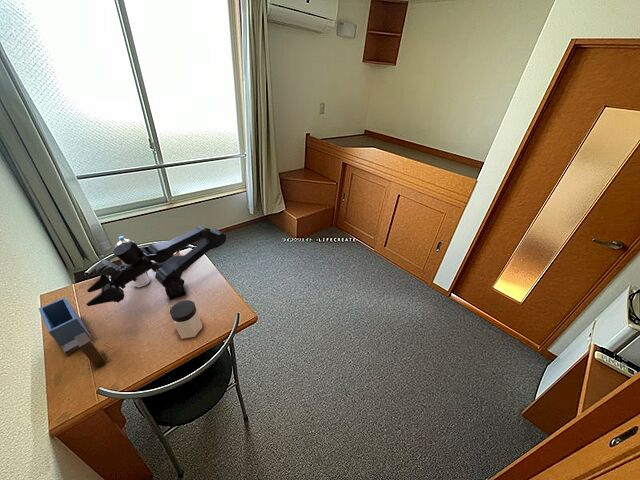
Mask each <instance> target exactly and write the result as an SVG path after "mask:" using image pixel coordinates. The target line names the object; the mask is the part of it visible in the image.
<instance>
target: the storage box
mask: <svg viewBox="0 0 640 480" xmlns="http://www.w3.org/2000/svg"><path fill="white" fill-rule="evenodd" d="M38 311H39V315H40V316H41V318H42V321H43V323H44V326H45V328H46V330H47V332H48V334H49V335H50V336H51V337H52V338H53V339H54V340H55V342H56V343H57V344H58V345H59V346H60V347H61V348H62V346H63V345H65V344H67V343H69V342H71V341H73V340H75V337H76V336H78V335H80V334H82V333H84V332H85V333H86V334H87V335H88V337H89V338H90V339H91V341H92V342H93V341H94V340H93V338H92V335H91V334H90V332H89V331H88V328H87V327H86V325H85V323H84V321H83V320H82V319H81V317H80V316H79V314H78V313H77V311H76V310H75V309H74V307H73V305H72V304H71V303H70V301H69V300H68V299H67V298H66V297H65V296H64V297H62V298H59V299H57V300H55V301H52V302H50V303H48V304H46V305H43V306H40V307H38ZM78 349H80V347H78V348H76V349H74V350H72V351H70V354H72V353H73V352H75V351H77V350H78Z"/></svg>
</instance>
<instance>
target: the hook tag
mask: <svg viewBox="0 0 640 480" xmlns="http://www.w3.org/2000/svg"><path fill="white" fill-rule="evenodd" d="M78 347H80V348H79V349H80V350H81V351H82V352H83V354H84V355H85V356H86V358H87V359H88V360H89V361H90V363H92V365H93V366H94V367H95V368H96V369H98V368H100V367H101V366H103V365H104V364H106V363H107V361H106V360H105V358H104V356H103V355H102V353H101V351H100V350H99V348H98V347H97V346H96V345H95V343H94V342H93V341H91V339H90V338H89V337H88V335H87V334H86V333H85V332H84V333H82V334H80V335H78V336H76V337H75V340H73V341H71V342H69V343H67V344H65V345H63V346H62V347H61V349H62V350H63V352H64V354H65V355H66V356H67V357H70V356H71V353H70V351H72V350H74V349H76V348H78Z"/></svg>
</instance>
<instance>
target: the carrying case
mask: <svg viewBox="0 0 640 480" xmlns="http://www.w3.org/2000/svg"><path fill="white" fill-rule="evenodd" d="M183 256H184V255H179V254H178V255H177V254H176V255H173V256H172V257H171V258H169V259H168V260H166V261H165V262H163V263H157V265H158V266H157V270H158V269H159V268H161V267H162V266H163V265H164V264H166V263H168V264H169V265H170V264H174V263H176V262H177V261H178V260H179V259H181V258H182V257H183Z"/></svg>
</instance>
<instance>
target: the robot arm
mask: <svg viewBox="0 0 640 480" xmlns="http://www.w3.org/2000/svg"><path fill="white" fill-rule="evenodd" d="M201 239H202V241H201ZM197 241H201V242H199V244H197V245H196V246H195V247H193V248H192V249H190V251H188V252H187V253H185V254H184V255H182V256H183V257H182V258H181V259H179V260H178V261H177V262H176V263H174V264H170V265H169V264H168V263H166V264H164V265H163V266H162V267H161V268H159V269H157V266H158V265H157V263H163V262H165V261H166V260H168V259H169V258H171V257H172V256H173V255H174V254H175V253H177V252H178V251H180V250H181V249H184V248H186V247H188V246H189V245H191V244H193V243H195V242H197ZM225 243H227V235H226V234H225V233H224V232H222V231H220V230H219V229H217V228H209V227H204V226H201V225H198V226H196V227H195V228H194V229H192V230H189V231H187V232H185V233H182V234H180V235H178V236H177V237H174V238H172V239H170V240H164V241H163V240H162V241H158V242H154V243H152V244H150V245H145V246H139V245H138V244H137V243H136V242H135V241H134V240H131V241H130V242H126V243H122V244H119V245H118V246H117V247H116V248H115V247H114V248H113V251H112V253H113V255H114V256H115V257H117V258H118V259H119V260H120V261H121V260H122V261H123V262H124V263H125V264H127V265H125V264H122V263H121V264H120V265H118V264H116V263H114V262H112V261H109V260H107V259H104V258H103V259H101V260H100V262H98V264H97V265H96V266H95V272H97V273H98V274H100V276H99V277H98V279H97V280H96V281H95V282H94V283H93V284H91V286H89V288H88V289H87V290H86V292H87V293H92V292H96V291H99V290H100V293H98V294H97V295H96V296H94V297H93V298H92V299H90V300H89V301H88V302H86V306H87V307H91V306H98V305H100V304H107V303H118V304H119V303H120V302H121V301H124V299H125V291H124V289H125V288H126V285H128V284H129V283H131V281H132V280H133V281H134V282H135V281H136V280H137V277H139V276H140V275H142V274H144V273H145V272H147V273H148V271H150V270H152V271H153V272H154V273H155V275H154V278H155V280H156V281H157V282H158V283H159V284H160V285H161V286H162V287H163V288H164V292H165V294H166V296H167V298H168V299H169V301H173V300H176V299H179V298H183V297H186V296H187V291H186V287H185V280H184V278H182V277H183V273H184V272H185V271H186V270H187V269H189V268H190V267H191V266H192V265H194V264H195V263H196V262H197V261H198V260H199V259H201V258H202V257H204V256H205V255H206V254H207V253H208V252H209V251H211V250H214V249H217V248H219V247H221V246H223V245H224V244H225ZM122 261H121V262H122Z"/></svg>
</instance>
